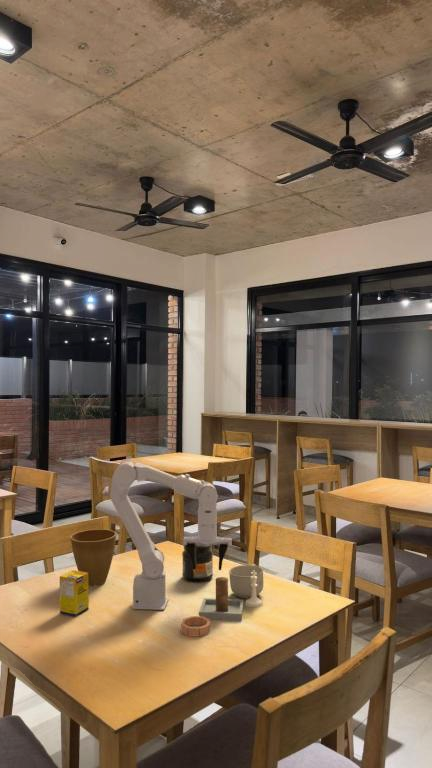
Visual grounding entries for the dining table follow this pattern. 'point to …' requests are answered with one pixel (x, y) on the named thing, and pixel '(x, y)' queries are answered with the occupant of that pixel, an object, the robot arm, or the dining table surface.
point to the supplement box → (74, 593)
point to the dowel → (221, 594)
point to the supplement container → (198, 564)
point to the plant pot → (94, 553)
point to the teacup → (245, 580)
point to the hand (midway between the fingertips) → (207, 568)
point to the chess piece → (253, 593)
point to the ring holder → (195, 630)
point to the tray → (232, 614)
